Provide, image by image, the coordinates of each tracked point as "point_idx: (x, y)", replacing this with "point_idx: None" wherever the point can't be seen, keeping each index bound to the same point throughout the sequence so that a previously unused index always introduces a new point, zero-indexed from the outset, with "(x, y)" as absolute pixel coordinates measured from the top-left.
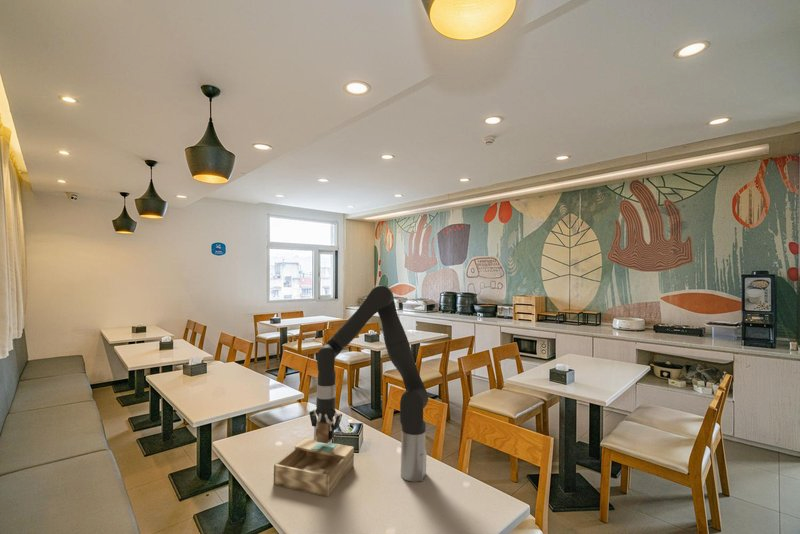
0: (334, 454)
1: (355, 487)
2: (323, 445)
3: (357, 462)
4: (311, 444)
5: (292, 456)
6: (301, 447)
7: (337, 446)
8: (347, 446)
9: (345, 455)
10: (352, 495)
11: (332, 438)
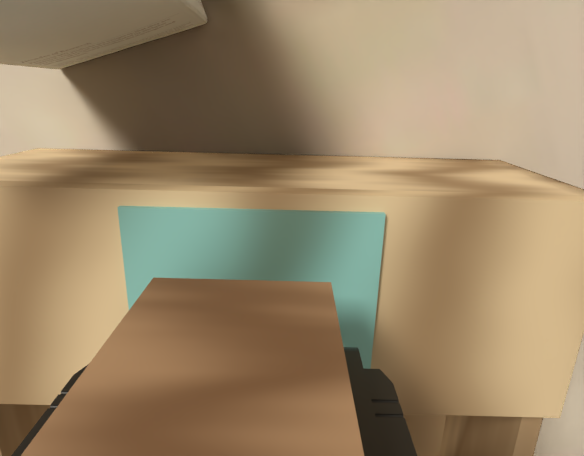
0: (434, 414)
1: (575, 383)
2: None
3: (516, 80)
4: (74, 309)
5: (24, 415)
6: (22, 397)
7: (401, 259)
8: (529, 220)
9: (559, 404)
10: (573, 447)
11: (332, 291)
